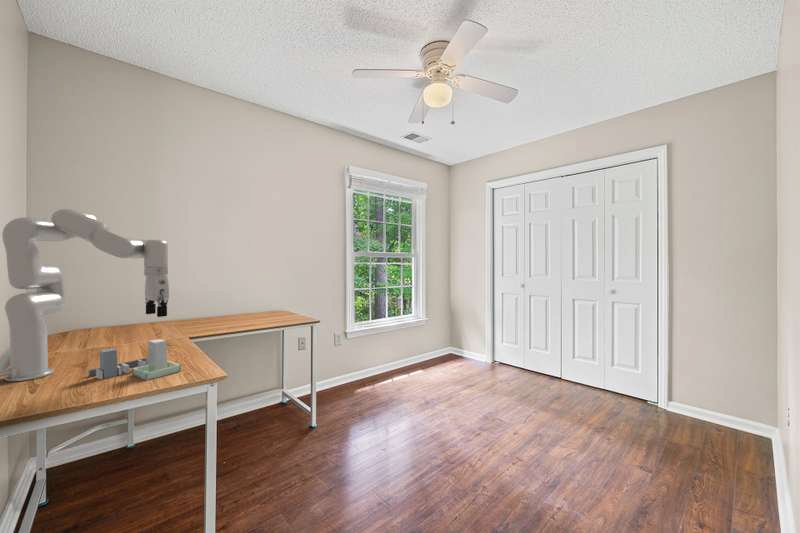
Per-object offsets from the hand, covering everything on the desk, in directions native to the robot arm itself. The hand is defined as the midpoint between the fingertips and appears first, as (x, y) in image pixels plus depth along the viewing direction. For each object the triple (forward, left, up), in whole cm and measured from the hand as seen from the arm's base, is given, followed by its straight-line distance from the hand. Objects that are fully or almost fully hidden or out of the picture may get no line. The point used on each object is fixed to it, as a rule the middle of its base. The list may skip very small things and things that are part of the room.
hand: (156, 315), depth 133 cm
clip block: (-4, +11, -23) cm, 25 cm away
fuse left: (-12, +11, -23) cm, 28 cm away
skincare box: (0, -1, -22) cm, 22 cm away
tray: (0, -1, -23) cm, 23 cm away
